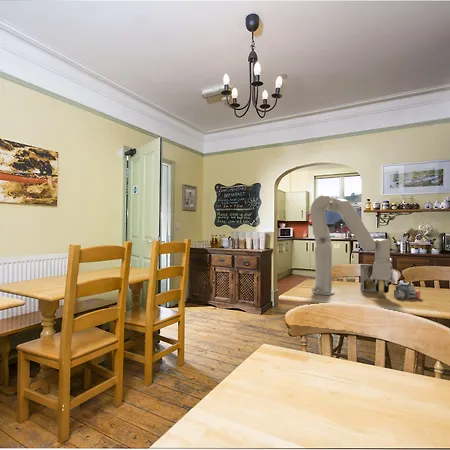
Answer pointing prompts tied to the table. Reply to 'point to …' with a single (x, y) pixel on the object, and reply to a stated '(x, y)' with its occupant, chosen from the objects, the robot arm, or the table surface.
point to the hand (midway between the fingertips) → (382, 291)
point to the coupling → (381, 289)
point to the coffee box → (367, 278)
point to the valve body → (406, 292)
